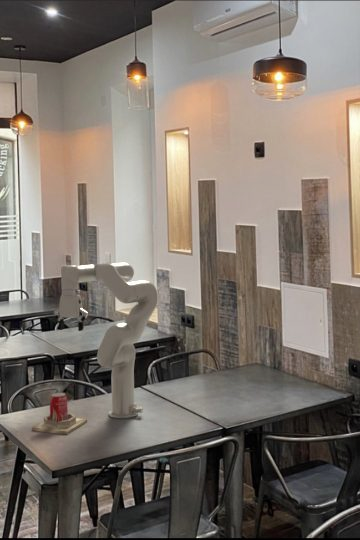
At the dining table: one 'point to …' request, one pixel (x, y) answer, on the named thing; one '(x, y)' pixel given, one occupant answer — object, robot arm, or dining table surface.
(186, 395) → the dining table surface
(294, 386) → the dining table surface
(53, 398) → the soda can
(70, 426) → the drink holder
